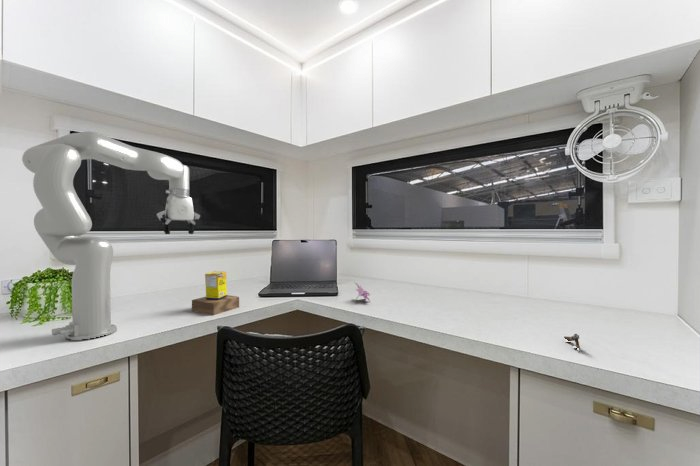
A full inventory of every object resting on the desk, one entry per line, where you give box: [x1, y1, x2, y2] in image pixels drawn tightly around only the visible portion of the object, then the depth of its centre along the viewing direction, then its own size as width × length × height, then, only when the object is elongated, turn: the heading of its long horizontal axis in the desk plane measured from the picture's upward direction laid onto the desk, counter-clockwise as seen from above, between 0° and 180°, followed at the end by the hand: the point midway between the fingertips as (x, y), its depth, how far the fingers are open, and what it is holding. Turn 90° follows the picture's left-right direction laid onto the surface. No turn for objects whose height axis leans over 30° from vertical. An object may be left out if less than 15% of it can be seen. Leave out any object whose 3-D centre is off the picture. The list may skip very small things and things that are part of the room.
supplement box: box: [204, 270, 228, 300], centre depth 130 cm, size 6×6×11 cm
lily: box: [354, 281, 371, 303], centre depth 143 cm, size 11×11×9 cm
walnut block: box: [191, 294, 240, 316], centre depth 130 cm, size 13×13×5 cm
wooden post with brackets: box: [563, 333, 581, 349], centre depth 90 cm, size 2×8×5 cm, turn 163°
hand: (179, 233), depth 132 cm, fingers open, 9 cm apart
